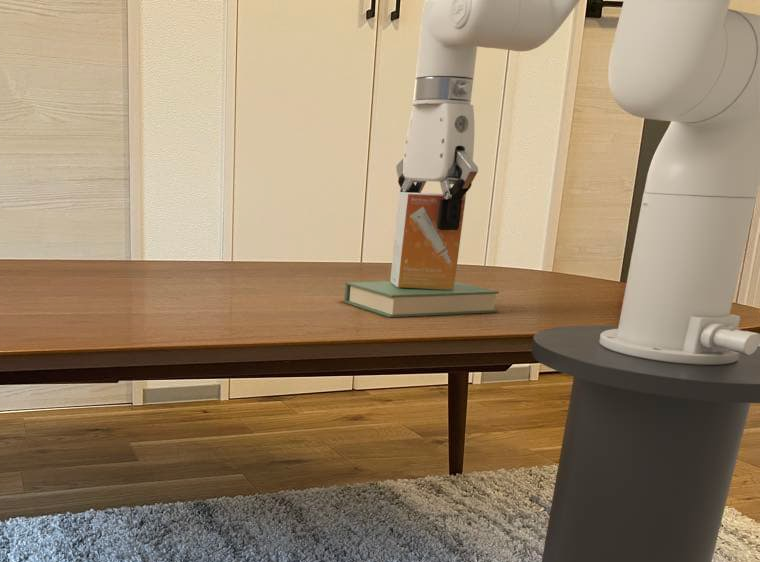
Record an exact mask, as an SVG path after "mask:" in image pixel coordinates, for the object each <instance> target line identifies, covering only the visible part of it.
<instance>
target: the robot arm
mask: <svg viewBox="0 0 760 562" xmlns="http://www.w3.org/2000/svg"><path fill="white" fill-rule="evenodd" d="M580 1H581V0H424V2H423V6H422V9H421V10H422V11H421V20H420V31H419V40H418V50H417V51H418V52H417V62H416V71H415V80H414V89H413V99H412V100H413V102H412V109H411V113H410V117H409V122H408V126H407V132H406V137H405V143H404V150H403V158H402V159H401V160H400V161H399V162H398V163H397V165H396V166H395V171H396V174H397V178H398V180H397V183H398V185H399V188H400V189H399V193H400V192H407V193H422V191H423V189H424V187H425V185H426V183H427V182H435V183H436V182H439V185H440V189H441V193H442V194H443V196H444V199H440V206H439V215H438V224H437V228H438V229H439V230H458V228H459V222H460V214H461V206H462V200H464V199H465V198H467V193H468V191H469V190H471V187H472V183H473V181H474V180H475V177H476V176H477V174H478V172H479V167H478V166H477V164H476V163H475V162H474V151H475V149H474V148H475V112H474V105H473V104H471V101H472V94H473V87H474V86H473V85H474V79H475V78H474V77H475V68H476V60H477V51H478V48H486V49H498V50H504V51H514V52H529V51H533V50H535V49H537V48H540V47H541V46H542V45H543V44H545V43H546V42H548V40H550V39H551V38H552V37H553V36H554V35H555V33H556V32H557V31H558V30H559V29H560V28H561V26H562V25H563V24H564V22H565V21H566V20H567V18H568V17H569V16H570V15H571V13H572V12H573V10H574V9H575V8H576V7H577V5H578V4H579V2H580ZM731 1H732V0H623V2H622V6H621V10H620V13H619V16H618V22H617V25H616V29H615V33H614V37H613V40H612V46H611V49H610V54H609V60H608V70H607V71H608V72H607V77H608V79H607V80H608V86H609V90H610V93H611V96H612V98H613V100H614V102H615V103H616V104H617V106H618V107H620V108H621V110H623V111H624V112H626V113H628V114H629V115H631V116H634V117H637V118H641V119H645V120H646V119H647V120H655V121H664V122H670V123H669V125H668V127H667V129H666V131H665V132H664V135H663V136H662V138H661V139H660V142H659V144H658V146H657V148H656V150H655V151H654V154H653V156H652V159H651V161H650V165H649V168H648V172H647V175H646V181H645V186H644V190H643V194H642V199H641V205H640V210H639V214H638V219H637V220H638V221H637V225H636V231H635V237H634V241H633V248H632V251H631V258H630V264H629V269H628V274H627V279H626V283H625V290H624V294H623V295H624V296H623V299H622V305H621V311H620V316H619V320H618V321H619V322H618V325H617V326H618V329H611V330H606V331H604V332H602V333H601V334H600V341H599V343H600V344H601V345H602V346H603V347H605V348H607V349H609V350H612V351H614V352H618V353H621V354H625V355H629V356H633V357H638V358H643V359H648V360H654V361H661V362H669V363H678V364H690V365H725V364H731V363H734V362H736V361H737V360H738V358H739V354H740V353H742V354H746V355H751V354H752V353H754V352H755V350H756V349H757V347H758V346H760V333H759V332H753V331H748V330H741V329H740V327H739V324H740V320H741V315H737V314H732V313H731V311H732V306H733V302H734V297H735V294H736V289H737V284H738V280H739V275H740V271H741V266H742V262H743V258H744V254H745V249H746V245H747V241H748V236H749V231H750V228H751V223H752V220H753V214H754V210H755V206H756V201H757V198H758V195H759V190H760V15H759V14H756V13H751V12H745V11H742V10H741V11H740V10H735V9H732V8H731V9H730V8H729V6H730V3H731ZM451 185H452V186H451ZM465 200H466V199H465Z"/></svg>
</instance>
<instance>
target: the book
mask: <svg viewBox="0 0 760 562" xmlns="http://www.w3.org/2000/svg"><path fill="white" fill-rule="evenodd" d="M390 281H391V280H375V281H372V280H371V281H368V280H367V281H345V289H344V301H343V303H346V304H348V305H350V306H355V307H357V308H360V309H363V310H367V311H370V312H371V313H376V314H378V315H382V316H384V317H387V318H404V317H405V318H406V317H425V316H426V317H429V316H447V315H448V316H449V315H467V314H469V315H470V314H489V313H490V314H491V313H492V314H493V313H497V310H496V309H495V304H496V296H497V294H500V291H499V290H495V289H491V288H487V287H482V286H478V285H477V286H476V285H471V284H468V283H464V282H460V281H455V284H454V290H453V291H451V290H436V289H420V288H398V287H397V286H395V285H394V284H392V283H391V282H390Z"/></svg>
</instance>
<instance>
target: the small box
mask: <svg viewBox="0 0 760 562" xmlns="http://www.w3.org/2000/svg"><path fill="white" fill-rule="evenodd" d="M466 198H467V197H466ZM466 198H465V199H464V200H462V206H461V214H460V222H459V228H458V230H439V229H438V228H437V224H438V215H439V206H440V199H444V196H443V193H434V192H433V193H432V192H421V193H407V192H400V191H399V193H398V203H397V212H396V219H395V220H396V222H395V232H394V242H393V247H392V259H391V270H390V280H389V281H390V282H391V283H392V284H394V285H395V286H397V287H398V288H420V289H436V290H451V291H453V290H454V284H455V282H456V275H457V270H458V269H457V268H458V261H459V255H460V254H459V253H460V245H461V238H462V231H463V230H462V229H463V222H464V214H465V208H466V207H465V206H466Z"/></svg>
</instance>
